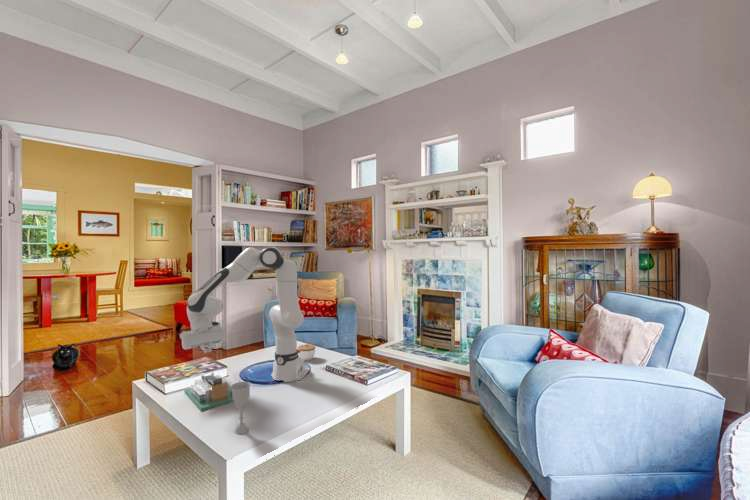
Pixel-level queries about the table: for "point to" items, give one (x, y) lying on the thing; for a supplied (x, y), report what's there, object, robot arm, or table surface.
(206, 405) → the circuit board
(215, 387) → the brown square block
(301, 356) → the lidded jar
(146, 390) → the table surface
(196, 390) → the heat sink
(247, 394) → the chalice
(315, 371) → the table surface
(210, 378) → the dark grey bar
